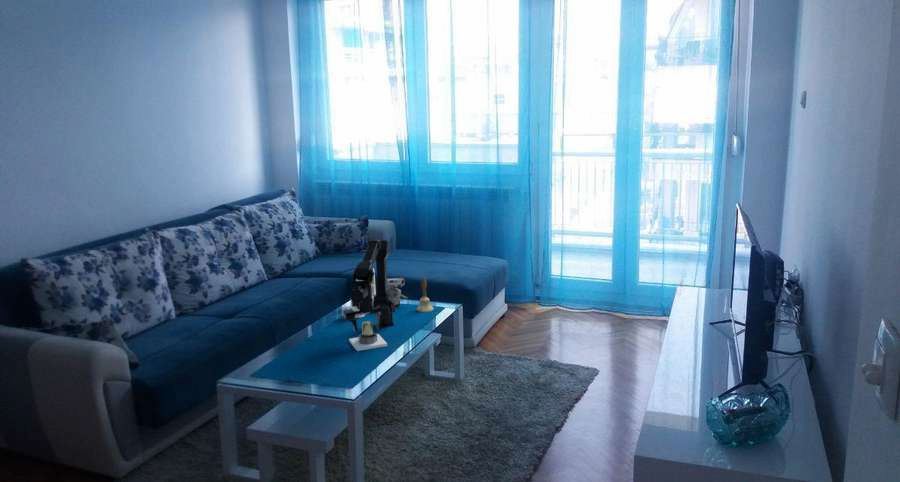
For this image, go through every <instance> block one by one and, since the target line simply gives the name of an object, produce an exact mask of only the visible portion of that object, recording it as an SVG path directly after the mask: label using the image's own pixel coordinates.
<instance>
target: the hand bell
mask: <svg viewBox="0 0 900 482" xmlns="http://www.w3.org/2000/svg"><path fill="white" fill-rule="evenodd" d="M420 288H421V289H422V297H421V298H420V299H419V305H418V307H416V311H417V312H420V313H428V312H432V311H433V310H434V307H433V306H432V305H431V304H432V303H431V302H430V298H429V297H427V280H426V278H425V277H422V278H421V287H420Z"/></svg>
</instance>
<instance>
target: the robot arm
mask: <svg viewBox="0 0 900 482" xmlns="http://www.w3.org/2000/svg"><path fill="white" fill-rule="evenodd" d="M367 243H368V244H367V247H366V250H365V253H364V255H363V258H362V261H361V262H359V263H357V265H356V267H355V269H354V270H353V275H352V280H351V285H352V286H354V287H353V289H352V291H351V292H350V293H349V298H351V299H350V303H351V302H352V307H356V308H357V309H358V310H359V311H353V310H352V309H351V308H350V309H344V310H343V311H342V317H343V318H344V320H345V321H348V322H350V323H351V325H352V326H353V329H354V332H355V334H358V324H357V318H355V316H358V315H365V316H366V315H371V314H376V317H375V318H376V330H377V331H379V329H380V328H384V327H391V326H395V324H394V321H393V319H394V318H393V314H394V313H396V305H394V303H393V301H392V297H391V294H390V293H389V291H388V288H389V287H388V286H387V279H388V269H387V268H388V266H387V264H388V262H387V258H388V256H389V254H390V253H391V246H392V245H391V242H390V241H389V240H388V239H370V240H368V242H367ZM374 264H376V266H375V267H376V295H375V296H374V301H373V299H372V287H371V283H372V282H373V278H374V274H375V270H374V271H373V269H374V267H373V266H374ZM356 279H357V280H363V281H356ZM372 302H373V303H372Z"/></svg>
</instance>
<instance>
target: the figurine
mask: <svg viewBox="0 0 900 482" xmlns="http://www.w3.org/2000/svg"><path fill="white" fill-rule="evenodd" d="M404 285H405V279H404V278H403V277H400V278H399V277H398V278H397V277H396V278H387V288H388V291H389V293H390V294H391V297H392V301H393V303H394V305H395V307H400V306H401V302H402V303H403V302H404V299H405V300H408V298H410V294H408V295H407V296H405V295H404V294H402V290H401V289H399V288H402V287H403V286H404ZM401 298H402V299H401Z"/></svg>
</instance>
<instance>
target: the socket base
mask: <svg viewBox="0 0 900 482" xmlns="http://www.w3.org/2000/svg"><path fill="white" fill-rule="evenodd" d="M376 335H377V340H378V341H377V342H375V343H373V344H360V343H359V342H358V336H357V337H352V338H351V337H350V338H349V339H348V342H349V344H351V346H352V347H353V348H354V349H355V350H356V351H357V352H361V351H367V350H371V349H373V350H374V349H378V348H385V347H388V342H387V341H385V339H384V338H383V337H382V336H381V335H380V334H379V333H376Z"/></svg>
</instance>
